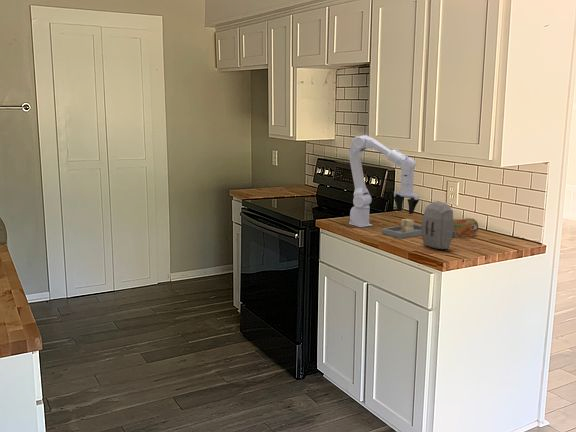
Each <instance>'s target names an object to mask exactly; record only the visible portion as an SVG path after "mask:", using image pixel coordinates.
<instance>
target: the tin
mask: <svg viewBox="0 0 576 432" xmlns="http://www.w3.org/2000/svg"><path fill="white" fill-rule="evenodd" d="M478 231H479V223H478V221H477V220H476V219H474V218H453V234H452V238H470V237H474V236H475V235H476V234H478V233H477V232H478Z"/></svg>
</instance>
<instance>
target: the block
mask: <svg viewBox="0 0 576 432" xmlns="http://www.w3.org/2000/svg"><path fill="white" fill-rule="evenodd" d="M414 224H415V220H414V219H411V218H404V219H403V218H402V219H401V223H400V226H401V232H402V233H404V232H410V231H413V229H414Z"/></svg>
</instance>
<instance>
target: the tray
mask: <svg viewBox="0 0 576 432" xmlns="http://www.w3.org/2000/svg"><path fill="white" fill-rule="evenodd" d="M381 233H382V234H381V235H386V236H388V237H392V238H396V239H398V240H399V239H400V240H402V239H409V238H414V237H419V236H421V237H422V234H421V224H420V225H419V224H415V223H414V229H413V231H410V232H404V233H402V232H401V225H396V226H390V227H389V226H388V227H383V228H382V230H381Z"/></svg>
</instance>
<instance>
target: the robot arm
mask: <svg viewBox="0 0 576 432" xmlns="http://www.w3.org/2000/svg"><path fill="white" fill-rule="evenodd" d="M367 149H374V150H375V151H377V152H378V153H381V154H383V156H386V157H387V160H388V161H390V162H392V164H394V165H396V166H398V167H399V168H400V169H401V170H400V171H401V174H400V190H394V191H393V200H394V202H395V205H396V209H397V210H396V211H397V212H402V211H403V203H404V199H405V198H408V199H407V200H406V201H407V204H408V214H409V215H413V214H414V212H415V209H416V207H417V204H418V203H419V201H420V195H419V194H415V193H414V176H415V175H414V173H415V168H416V165H417V164H416V163H417V162H416V161H415V159H414V158H413V157H409V156H408V155H407V154H406V155H405V154H403V153H402V152H400V150H399V149H390V148H388V147H387V146H385V145H384V144H383V143H381V142H380V141H378V140H377V139H375V138H373V137H372V136H369V135H367V134H363V135H356V136H354V137H353V138H352V140H351V142H350V148H349V151H348V158H349V165H350V169H351V174H352V180H353V185H354V192H353V200H352V203H353V206H352V207H351V209H350V212H349V222H348V225H350V226H351V225H352V226H355V227H359V228H366V227H372V226H373V224H371V223H370V204H371V203H372V201H373V199H372V195H371V194H370V192H369V189H368V188H367V185H366V181H365V175H364V172H363V165H362V161H361V160H362V159H361V155H362V154H363V152H364V151H365V150H367Z"/></svg>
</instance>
